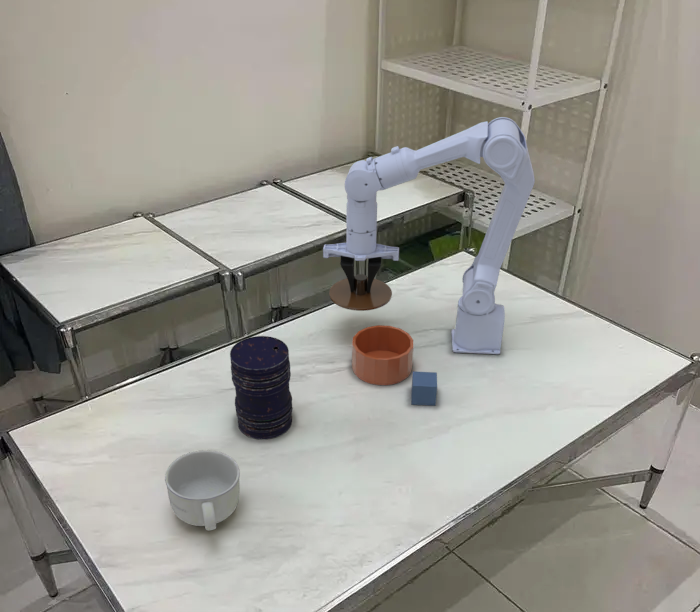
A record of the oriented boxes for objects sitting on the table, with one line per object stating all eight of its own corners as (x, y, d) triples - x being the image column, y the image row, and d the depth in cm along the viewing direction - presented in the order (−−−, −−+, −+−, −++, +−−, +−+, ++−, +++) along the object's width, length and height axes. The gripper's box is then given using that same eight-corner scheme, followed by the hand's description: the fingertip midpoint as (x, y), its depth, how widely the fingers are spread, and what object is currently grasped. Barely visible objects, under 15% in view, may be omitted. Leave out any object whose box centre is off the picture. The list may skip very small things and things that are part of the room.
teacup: (176, 486, 115) (169, 449, 110) (245, 482, 116) (240, 445, 111) (166, 555, 104) (157, 518, 99) (241, 551, 105) (236, 513, 100)
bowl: (411, 351, 145) (413, 326, 142) (411, 386, 136) (413, 360, 132) (354, 349, 146) (354, 324, 142) (350, 383, 137) (350, 357, 133)
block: (434, 391, 135) (436, 372, 132) (435, 405, 132) (437, 386, 129) (411, 390, 135) (412, 371, 133) (411, 404, 132) (412, 385, 129)
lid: (392, 282, 150) (393, 263, 147) (391, 314, 140) (392, 294, 137) (332, 280, 151) (332, 260, 148) (326, 312, 141) (326, 291, 138)
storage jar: (247, 446, 123) (239, 376, 113) (229, 412, 130) (221, 344, 121) (301, 430, 126) (298, 360, 117) (281, 398, 133) (277, 330, 124)
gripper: (321, 234, 133) (322, 298, 141) (399, 237, 132) (396, 301, 141) (324, 218, 139) (325, 280, 147) (400, 221, 138) (397, 283, 146)
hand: (360, 289), depth 144 cm, fingers closed on lid, 2 cm apart
